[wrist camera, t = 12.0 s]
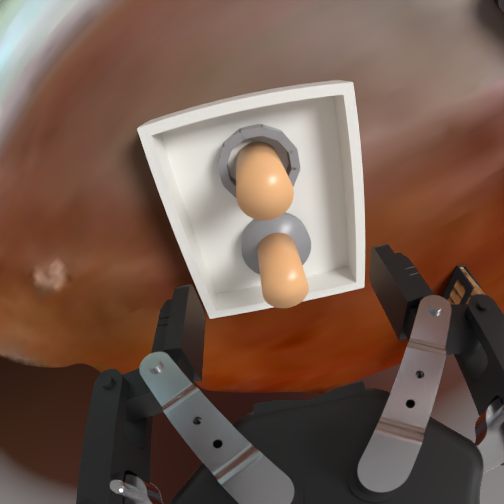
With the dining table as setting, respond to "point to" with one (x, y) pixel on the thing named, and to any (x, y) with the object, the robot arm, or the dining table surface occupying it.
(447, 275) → the dining table surface
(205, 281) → the housing
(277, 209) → the tan rounded sausage
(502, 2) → the tin
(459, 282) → the ammunition clip
